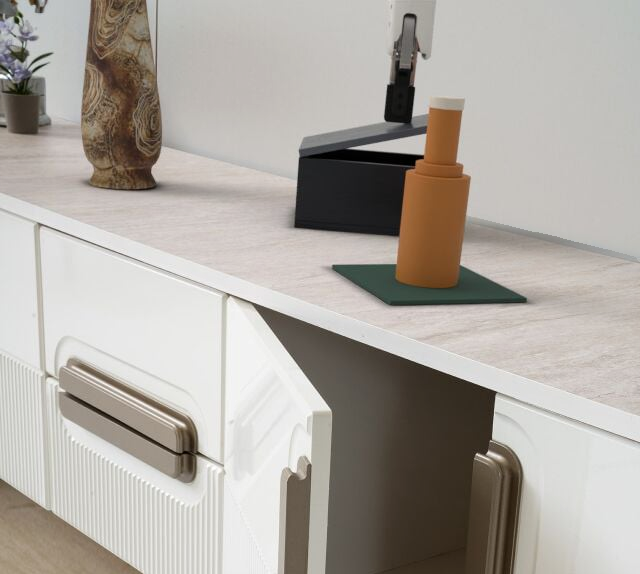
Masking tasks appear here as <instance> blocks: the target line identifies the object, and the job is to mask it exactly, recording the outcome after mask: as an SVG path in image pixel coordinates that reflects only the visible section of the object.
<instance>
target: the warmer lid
mask: <svg viewBox="0 0 640 574" xmlns="http://www.w3.org/2000/svg"><path fill="white" fill-rule="evenodd" d="M428 116H429V113H426V114H419V115H416V116H415V115H414V116H412V122H411V123H409V124H405V123H394V122H386V121H384V122H377V123H372V124H367V125H361V126H356V127H351V128H346V129H340V130H335V131H329V132H323V133H319V134H314V135H313V134H312V135H308V136H304V137H303V138H302V139H301V143H300V145H299V148H298V155H299V156H300V157H304V156H309V155H314V154H320V153H325V152H330V151H336V150H341V149H347V148H348V149H353V148H357V147H362V146H366V145H373V144H378V143H384V142H389V141H395V140H400V139H405V138H410V137H416V136H421V135H426V134H427V125H428ZM299 156H298V157H299Z"/></svg>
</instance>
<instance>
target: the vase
mask: <svg viewBox="0 0 640 574" xmlns="http://www.w3.org/2000/svg"><path fill="white" fill-rule="evenodd" d="M89 7H90V8H89V9H90V10H89V19H88V20H89V22H88V32H87V43H86V52H85V54H86V55H85V63H84V64H85V65H84V74H83V86H82V95H81V97H82V98H81V108H80V109H81V112H80V113H81V116H80V120H81V121H80V130H81V132H80V133H81V141H82V142H81V143H82V149H83V151H84V155H85V158H86V159H87V161H88V162H89V163H90V164H91V165H92V167H93V171H92V175H91V177H90V179H89V181H88V183H89V185H91V186H93V187H96V188H105V189H113V190H114V189H116V190H143V189H152V188H155V187H156V186H157V185H158V183H157V181H156V179H155V177H154V175H153V173H152V171H153V170H152V169H153V166H154V165H156V164H157V162H158V160H159V158H160V157H161V153H162V146H163V145H162V144H163V122H162V120H163V119H162V108H161V101H160V94H159V93H160V92H159V86H158V81H157V73H156V66H155V59H154V51H153V46H152V45H153V44H152V39H151V30H150V23H149V14H148V5H147V0H90V5H89Z"/></svg>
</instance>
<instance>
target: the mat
mask: <svg viewBox="0 0 640 574" xmlns="http://www.w3.org/2000/svg"><path fill="white" fill-rule="evenodd" d="M396 265H397V263H370V264H369V263H367V264H366V263H365V264H364V263H362V264H360V263H359V264H358V263H357V264H355V263H353V264H346V263H345V264H331V269H332V270H334V271H336V273H338V274H340V275H342V276H343V277H344V278H347V280H349V281H351V282H352V283H354V284H355V285H357V286H359V287H361V288H362V289H364V290H365V291H366V292H368V293H370V294H372V295H373V296H375V297H376V298H377V299H380V300H381V301H382V302H384V303H386V304H387V305H389V306H411V305H413V306H415V305H417V306H418V305H453V304H455V305H457V304H461V305H462V304H497V303H499V304H500V303H501V304H503V303H505V304H506V303H527V302H528V301H527V300H528V297H526V296H524V295H522V294H520V293H517V292H516V291H514V290H512V289H510V288H508V287H506V286H503V285H501V284H500V283H498V282H496V281H493V280H491V279H489V278H488V277H486V276H483V275H481V274H479V273H478V272H475V271H474V270H471V269H470V268H467V267H465V266H464V265H461V264H460V268H459V276H458V284H457V285H456V286H454V287H449V288H425V287H418V286H412V285H408V284H405V283H402V282H399V281H398V280H396V278H395V274H396Z"/></svg>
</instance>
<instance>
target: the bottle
mask: <svg viewBox="0 0 640 574" xmlns="http://www.w3.org/2000/svg"><path fill="white" fill-rule="evenodd" d="M465 103H466V98H465V97H462V96H457V95H447V94H430V95H429V97H428V114H429V116H428V125H427V134H425V144H424V145H425V146H424V153H423V155H424V159H421V160H417V161H416V165H415V169H410V170H407V171H406V178H405V187H404V197H403V207H402V216H401V226H400V236H398V247H397V257H396V264H397V265H396V274H395V278H396V280H398V281H399V282H402V283H405V284H408V285H412V286H418V287H425V288H449V287H454V286H456V285H457V284H458V276H459V268H460V265H461V261H462V260H461V259H462V251H463V243H464V237H465V228H466V220H467V213H468V204H469V197H470V188H471V181H472V177H471V176H470V175H468V174H466V173H464V164H463V163H461V162H457V159H458V152H459V143H460V137H461V136H460V134H461V128H462V127H461V126H462V118H463V111H464V110H465Z"/></svg>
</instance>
